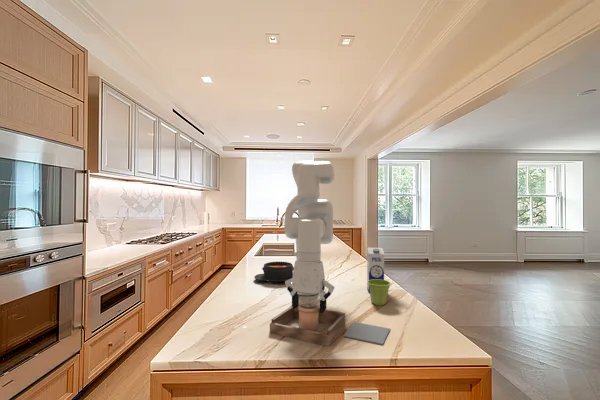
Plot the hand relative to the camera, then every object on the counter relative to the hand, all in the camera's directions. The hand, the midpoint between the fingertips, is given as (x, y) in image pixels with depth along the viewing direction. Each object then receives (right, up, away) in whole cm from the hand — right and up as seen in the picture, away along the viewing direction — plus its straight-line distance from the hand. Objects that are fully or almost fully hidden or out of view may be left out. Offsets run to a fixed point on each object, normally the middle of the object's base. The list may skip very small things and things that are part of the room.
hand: (308, 309), depth 102 cm
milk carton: (+32, -7, +44) cm, 55 cm away
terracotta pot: (0, -7, +1) cm, 7 cm away
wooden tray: (0, -7, +1) cm, 7 cm away
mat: (+19, -7, -2) cm, 20 cm away
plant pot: (+30, -7, +27) cm, 41 cm away
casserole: (-14, -7, +62) cm, 64 cm away
